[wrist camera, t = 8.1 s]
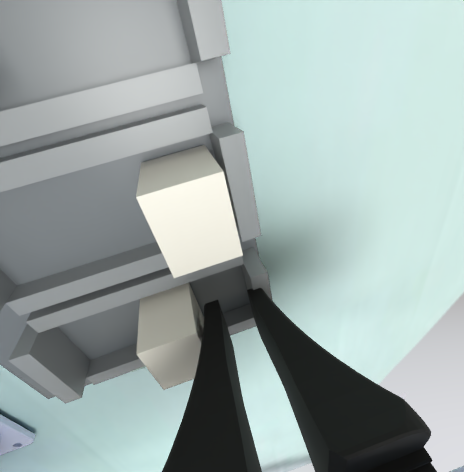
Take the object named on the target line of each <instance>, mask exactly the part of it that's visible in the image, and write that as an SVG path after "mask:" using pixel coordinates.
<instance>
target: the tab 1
mask: <svg viewBox="0 0 464 472" xmlns="http://www.w3.org/2000/svg"><path fill="white" fill-rule="evenodd" d="M136 198H137V200H138V203H139V205H140V207H141V209H142V211H143V213H144V215H145V218H146V220H147V222H148V224H149V226H150V228H151V230H152V233H153V235H154V237H155V239H156V241H157V243H158V245H159V247H160V250H161V252H162V254H163V256H164V258H165V260H166V262H167V265H168V267H169V269H170V271H171V273H172V275H173V277H174V278H176V277H179V276H182V275H185V274H188V273H191V272H194V271H197V270H200V269H203V268H206V267H210V266H213V265H216V264H219V263H222V262H225V261H228V260H231V259H234V258H237V257H240V256H243V253H242V249H241V244H240V240H239V236H238V232H237V227H236V223H235V219H234V214H233V210H232V206H231V202H230V197H229V193H228V189H227V185H226V180H225V176H224V172H223V170H222V169H221V167H220V166H219V164H218V163H217V162H216V160H215V159H214V158H213V156H212V155H211V153H210V152H209V151H208V149H207V148H206V146H205V145H202V146H198V147H195V148H191V149H188V150H184V151H181V152H177V153H174V154H170V155H167V156H163V157H160V158H156V159H153V160H149V161H146V162H142V163H141V167H140V174H139V180H138V187H137V194H136Z"/></svg>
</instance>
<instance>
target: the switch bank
mask: <svg viewBox="0 0 464 472" xmlns="http://www.w3.org/2000/svg"><path fill="white" fill-rule="evenodd" d="M227 54H230V48H229V43H228V37H227V31H226V25H225V19H224V13H223V7H222V1H221V0H0V365H1V366H3V367H4V368H6V369H7V370H8V371H10V372H11V373H13V374H14V375H15V376H17V377H18V378H20V379H21V380H22V381H24V382H25V383H27V384H28V385H29V386H31V387H32V388H34V389H35V390H36V391H38V392H39V393H41V394H42V395H43V396H45V397H46V398H48V399H50V398H52V397H55V396H56V397H57V398H59V399H60V400H61V401H63V402H64V403H68V402H71V401H74V400H76V399H79V398H82V395H83V390H84V386H86V385H88V384H91V383H93V384H94V385H95V384H98V383H101V382H103V381H106V380H109V379H112V378H114V377H117V376H120V375H123V374H125V373H128V372H131V371H132V372H133V371H136V370H138V369H141V368H144V367H146V366H145V365H144V364H143V362H142V361H141V360H140V358H139V357H138V356H137V354H136V352H137V337H138V322H139V306H140V299H141V298H144V297H147V296H150V295H153V294H156V293H159V292H162V291H165V290H168V289H171V288H174V287H177V286H180V285H183V284H186V283H189V284H190V286H191V289H192V291H193V293H194V296H195V298H196V300H197V303H198V305H199V307H200V310H201V312H202V314H203V317H204V305H205V304H206V303H209V302H212V301H215V300H218V301H219V304H220V307H221V309H222V312H223V315H224V318H225V321H226V324H227V327H228V330H229V334H230V335H233V334H236V333H239V332H241V331H244V330H247V329H250V328H252V327H255V326H257V325H256V323H255V320H254V317H253V313H252V309H251V305H250V301H249V297H248V293H247V290H248V289H253V290H255V289H258V288H262V289H263V290H264V291H265V293H266V294H267V295H268V297H269V298H270V299H271V300H272V295H271V290H270V284H269V278H268V272H267V270H266V269H265V267H264V265H263V263H262V262H261V260H260V258H259V255H258V249H257V244H256V239H255V238H256V237H259V236H261V231H260V225H259V219H258V213H257V207H256V201H255V195H254V190H253V184H252V178H251V172H250V166H249V160H248V154H247V148H246V143H245V137H244V132H243V131H242V130H240V129H238V128H237V127H235V126H234V122H233V116H232V111H231V106H230V100H229V95H228V90H227V84H226V79H225V74H224V68H223V63H222V58H221V56H224V55H227ZM202 145H205V146H206V148H207V149H208V151H209V152H210V153H211V155H212V156H213V158H214V159H215V160H216V162H217V163H218V164H219V166H220V167H221V169H222V170H223V172H224V176H225V180H226V185H227V189H228V193H229V197H230V202H231V206H232V210H233V214H234V219H235V223H236V227H237V232H238V236H239V240H240V244H241V249H242V253H243V256H240V257H237V258H234V259H231V260H228V261H225V262H222V263H219V264H216V265H213V266H210V267H206V268H203V269H200V270H197V271H194V272H191V273H188V274H185V275H182V276H179V277H176V278H174V277H173V275H172V273H171V271H170V269H169V267H168V265H167V262H166V260H165V258H164V256H163V254H162V252H161V250H160V247H159V245H158V243H157V241H156V239H155V237H154V235H153V233H152V230H151V228H150V226H149V224H148V222H147V220H146V218H145V215H144V213H143V211H142V209H141V207H140V205H139V203H138V200H137V198H136V194H137V187H138V180H139V174H140V167H141V163H142V162H146V161H149V160H153V159H156V158H160V157H163V156H167V155H170V154H174V153H177V152H181V151H184V150H188V149H191V148H195V147H198V146H202Z"/></svg>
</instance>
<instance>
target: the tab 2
mask: <svg viewBox="0 0 464 472" xmlns="http://www.w3.org/2000/svg"><path fill="white" fill-rule="evenodd" d="M203 326H204V317H203V314H202V312H201V310H200V307H199V305H198V303H197V300H196V298H195V296H194V293H193V291H192V289H191V286H190V284H189V283H186V284H183V285H180V286H177V287H174V288H171V289H168V290H165V291H162V292H159V293H156V294H153V295H150V296H147V297H144V298H141V299H140V306H139V322H138V337H137V352H136V354H137V356H138V357H139V358H140V360H141V361H142V362H143V364H144V365H145V366H146V367H147V369H148V370H149V371H150V373H151V374H152V375H153V377H154V378H155V379H156V380H157V382H158V383H159V384H160V386H161V387H162V388H163V389H164V390H165V389H168V388H170V387H173V386H176V385H178V384H181V383H184V382H186V381H189V380H192V379H194V378H195V374H196V369H197V365H198V360H199V354H200V349H201V342H202V335H203Z"/></svg>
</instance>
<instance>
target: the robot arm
mask: <svg viewBox="0 0 464 472" xmlns="http://www.w3.org/2000/svg"><path fill="white" fill-rule="evenodd" d="M247 293H248V297H249V301H250V305H251V309H252V313H253V317H254V320H255V323H256V325H257V328H258V331H259V334H260V336H261V339H262V341H263V343H264V345H265V347H266V349H267V351H268V354H269V356H270V358H271V360H272V362H273V364H274V366H275V368H276V371H277V373H278V375H279V377H280V379H281V381H282V384H283V386H284V388H285V391H286V393H287V396H288V399H289V401H290V404H291V407H292V409H293V412H294V415H295V417H296V420H297V423H298V425H299V428H300V431H301V434H302V436H303V439H304V442H305V444H306V447H307V450H308V453H309V455H310V458H311V461H312V464H313V466H314V469H315V472H437V471H436V470H435V468H434V467H433V466H432V464H431V463H430V462H432V459H431V457H430V456H429V454H428V453H427V451H426V450H425V448H424V445H425V444H426V442H427V441H428V440H429V438H430V436H431V431H430V429H429V428H428V427H427V425H426V424H425V422H424V421H423V420H422V419H421V417H420V416H419V415H418V414H417V413H416V412H415V411H414V410H413V409H412V408H411V407H410V405H409V404H408V403H407V402H405V400H404V399H402V398H401V397H399V396H397V395H395V394H393V393H392V392H390V391H388V390H386V389H384V388H382V387H381V386H379V385H378V384H376V383H374V382H372V381H371V380H369V379H368V378H366V377H364V376H363V375H361V374H360V373H358V372H356V371H355V370H353V369H352V368H350V367H349V366H348V365H346V364H345V363H343V362H342V361H340V360H339V359H337V358H336V357H334V356H333V355H332V354H330V353H329V352H328V351H326V350H325V349H323V348H322V347H321V346H320V345H318V344H317V343H316V342H315V341H313V340H312V339H311V338H310V337H309V336H307V335H306V334H305V333H304V332H303V331H302V330H301V329H299V328H298V327H297V326H296V325H295V324H294V323H293V322H292V321H291V320H290V319H289V318H288V317H287V316H286V315H285V314H284V313H283V312H282V311H281V310H280V309H279V308H278V307H277V306H276V305H275V304H274V302H273V301H272V300H271V299H270V298H269V297H268V295H267V294H266V293H265V291H264V290H263V289H262V288H258V289H255V290H253V289H248V290H247ZM34 439H35V434H34V433H32V432H31V431H29V430H27V429H25V428H23V427H22V426H20V425H18V424H16V423H15V422H13V421H11V420H9V419H7V418H6V417H4V416H2V415H0V455H3V454H5V453H8V452H11V451H13V450H16V449H19V448H21V447H24V446H27V445H29V444H31V443H32V442H33V441H34ZM162 472H262V471H261V467H260V463H259V460H258V456H257V452H256V448H255V445H254V441H253V437H252V433H251V430H250V426H249V422H248V418H247V415H246V411H245V407H244V403H243V398H242V394H241V388H240V382H239V377H238V371H237V366H236V360H235V355H234V349H233V345H232V341H231V337H230V334H229V330H228V327H227V324H226V321H225V318H224V315H223V312H222V309H221V307H220V304H219V301H218V300H215V301H212V302H209V303H206V304H205V305H204V326H203V335H202V342H201V349H200V354H199V360H198V365H197V369H196V374H195V378H194V382H193V386H192V390H191V393H190V397H189V400H188V403H187V406H186V410H185V413H184V416H183V419H182V422H181V425H180V427H179V430H178V433H177V435H176V438H175V441H174V444H173V446H172V449H171V452H170V454H169V457H168V459H167V461H166V464H165V466H164V468H163V471H162ZM450 472H464V466H462V467H459V468H457V469H455V470H452V471H450Z"/></svg>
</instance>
